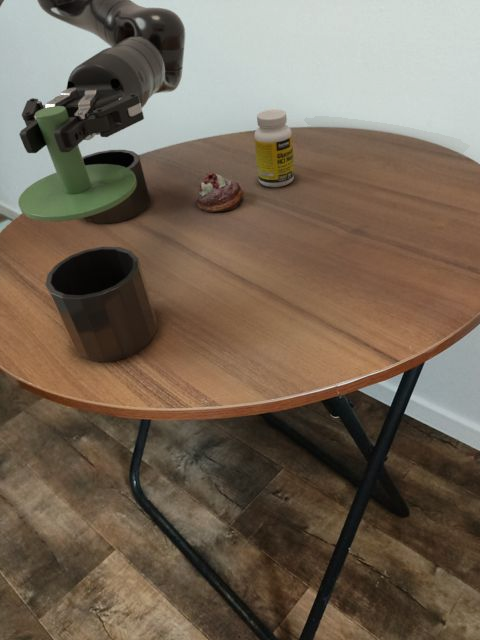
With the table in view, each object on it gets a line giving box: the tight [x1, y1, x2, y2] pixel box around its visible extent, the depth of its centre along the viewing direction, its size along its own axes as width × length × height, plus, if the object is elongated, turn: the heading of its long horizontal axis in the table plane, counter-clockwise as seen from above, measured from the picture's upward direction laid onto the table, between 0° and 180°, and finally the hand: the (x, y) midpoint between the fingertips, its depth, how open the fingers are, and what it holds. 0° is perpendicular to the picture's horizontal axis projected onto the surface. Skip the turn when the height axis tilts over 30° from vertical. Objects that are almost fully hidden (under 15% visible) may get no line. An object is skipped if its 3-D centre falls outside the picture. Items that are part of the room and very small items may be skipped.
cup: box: [45, 246, 158, 363], centre depth 60 cm, size 10×10×9 cm
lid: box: [17, 106, 137, 223], centre depth 54 cm, size 13×13×9 cm
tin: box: [82, 149, 151, 225], centre depth 86 cm, size 12×12×8 cm
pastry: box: [196, 171, 244, 213], centre depth 84 cm, size 8×8×5 cm
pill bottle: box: [253, 109, 295, 188], centre depth 86 cm, size 6×6×11 cm
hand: (43, 142), depth 50 cm, fingers closed on lid, 3 cm apart
